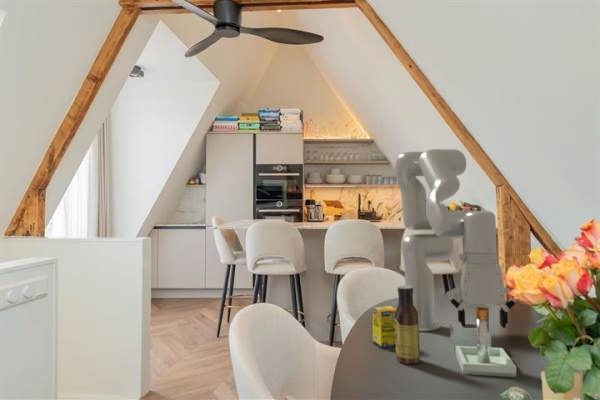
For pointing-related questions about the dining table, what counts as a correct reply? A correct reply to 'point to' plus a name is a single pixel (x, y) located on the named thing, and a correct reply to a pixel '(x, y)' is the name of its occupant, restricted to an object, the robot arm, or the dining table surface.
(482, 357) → the pin
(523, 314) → the dining table surface
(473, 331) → the block
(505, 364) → the tray
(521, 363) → the dining table surface
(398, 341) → the sauce bottle
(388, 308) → the supplement box
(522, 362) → the dining table surface
